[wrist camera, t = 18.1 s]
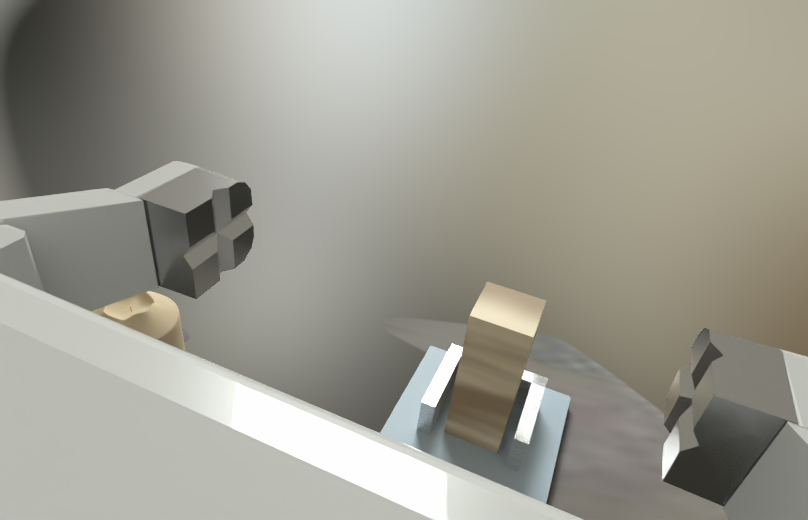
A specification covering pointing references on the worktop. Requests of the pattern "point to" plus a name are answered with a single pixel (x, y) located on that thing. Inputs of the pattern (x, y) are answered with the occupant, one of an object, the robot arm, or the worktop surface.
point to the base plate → (475, 458)
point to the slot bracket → (524, 400)
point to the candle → (148, 317)
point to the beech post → (492, 364)
